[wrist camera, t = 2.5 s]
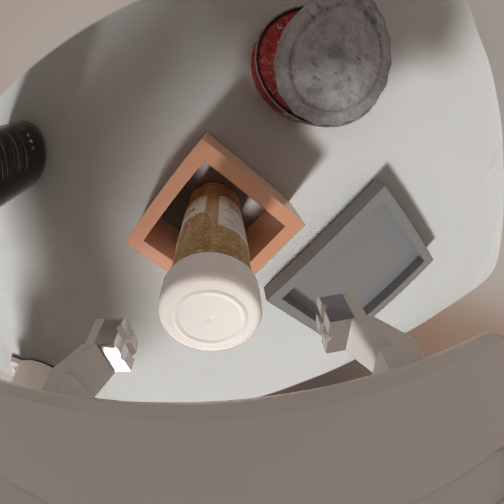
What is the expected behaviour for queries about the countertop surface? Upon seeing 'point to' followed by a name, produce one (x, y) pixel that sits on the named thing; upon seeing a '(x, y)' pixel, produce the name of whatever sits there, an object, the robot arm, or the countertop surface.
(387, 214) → the charcoal tray
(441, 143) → the countertop surface
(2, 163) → the supplement bottle
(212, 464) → the robot arm
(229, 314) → the sprinkles bottle
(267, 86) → the canned food
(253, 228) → the terracotta holder
